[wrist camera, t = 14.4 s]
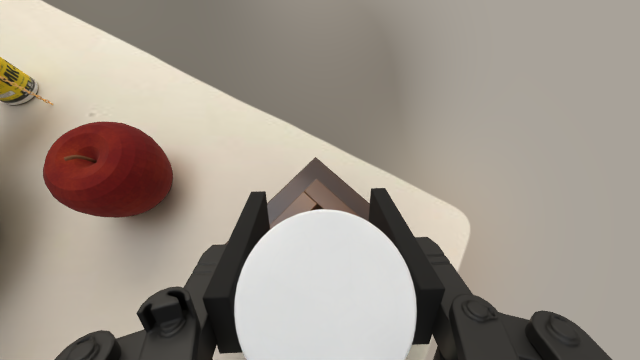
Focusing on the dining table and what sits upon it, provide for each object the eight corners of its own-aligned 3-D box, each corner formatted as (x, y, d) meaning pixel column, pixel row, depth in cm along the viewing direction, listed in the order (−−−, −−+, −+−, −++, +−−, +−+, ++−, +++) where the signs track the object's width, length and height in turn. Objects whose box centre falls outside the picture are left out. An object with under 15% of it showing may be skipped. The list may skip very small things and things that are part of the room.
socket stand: (321, 388, 24) (326, 484, 13) (222, 276, 27) (164, 282, 17) (411, 269, 28) (469, 271, 17) (315, 183, 31) (315, 141, 20)
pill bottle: (369, 241, 16) (442, 209, 7) (360, 338, 14) (444, 473, 5) (285, 227, 16) (247, 177, 7) (265, 321, 15) (178, 420, 5)
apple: (157, 139, 32) (92, 88, 23) (206, 183, 30) (157, 146, 21) (94, 191, 30) (-8, 158, 20) (143, 242, 28) (55, 231, 19)
